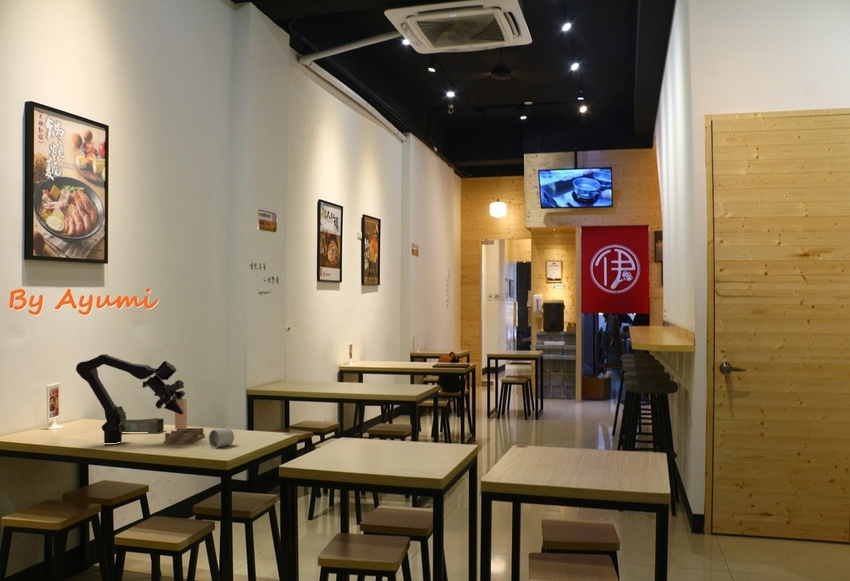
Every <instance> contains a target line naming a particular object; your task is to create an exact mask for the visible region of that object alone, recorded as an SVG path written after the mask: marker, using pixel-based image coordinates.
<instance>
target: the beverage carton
mask: <svg viewBox="0 0 850 581" xmlns="http://www.w3.org/2000/svg"><path fill="white" fill-rule="evenodd" d="M164 422H165V420H164V418H158V417H156V418H146V419H145V418H143V419H142V418H141V419H126V421H125V422H124V423H123V424H122V427H121V428H120V432H148V433H154V434H159V433H161V432H160V431H162V430H165V429H164V426H165V424H164ZM158 432H159V433H158ZM162 432H163V431H162Z"/></svg>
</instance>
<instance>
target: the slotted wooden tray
mask: <svg viewBox="0 0 850 581" xmlns="http://www.w3.org/2000/svg"><path fill="white" fill-rule="evenodd" d="M205 435H206V434H205V433H204V427H187V428H185V429H176V430H171V431H170V432H166V433H164V440H163V445H186V444H187V445H188V444H189V445H190V444H193V443H195V442H197V441H199V440H200V439H203V438H205V437H206V436H205Z"/></svg>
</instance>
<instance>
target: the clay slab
mask: <svg viewBox="0 0 850 581" xmlns="http://www.w3.org/2000/svg"><path fill="white" fill-rule="evenodd" d="M187 401H188V400H187V398H182V399H177V400H176V403H177V405H178V406H179V407H180V409H181V410H182V411H183V414H179V413H176V412H174V429H175V430H177V429H185V428H188V415H187V414H188V407H187V406H188V402H187Z"/></svg>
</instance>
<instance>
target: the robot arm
mask: <svg viewBox="0 0 850 581" xmlns="http://www.w3.org/2000/svg"><path fill="white" fill-rule="evenodd" d="M103 365H105V366H108V367H111V368H114V369H117V370H120V371H124V372H126V373H128V374H130V375H131V376H133V377H134V378H136V379H139V380H144V381H142V388H144V389H145V388H149V389H150V390H151V391H152V392H153V393H154V396H155V397H158V398H159V399H158V400H157V401H156V402H155V407H156V409H158V410H160V409H162V408H163V409H166V410H169V411H172V412H173V413H175V412H176V413H179V414H183V411H182V410H181V409H180V407H179V406H178V405H177V403H176V400H177V399H183V397H184V396H186V394H187V393H186V392H185V391H184V390H181V389H184V388H185V385H184V384H185V382H183V381H182V380H181V379H177V380H175V381H174V383H172V384H169V383H168V384H166V382H164V381H168V380H169V379H170V378H172V376H173V375H174V374H175V373H176V372H177V371H178V370H177V368H176V367H175V365H173V364H171V363H169V362H168V361H167V360H164V361H163V362H162V363H161V364H160V365H159V366H158V367H157V368H153V367H152V366H150V365H148V364H140V363H133V362H129V361H126V360H122V359H120V358H117V357H114V356H112V355H109V354H107V353H104V354H100V355H98V356H95V357H94V358H92V359H91V358H90V359H89V360H85V361H81V362H78V363H77V365H76V366H75V371H76V373H77V374H78V375H79V376H80V378H82V379H83V380H84V381H85V382H87V383H88V385H89V387H90V388H91V390H92V392H93V394H94V395H95V397H96V398H97V400H98V402H99V403H100V405H101V407H102V409H103V412H104V417H105V420H106V422H104V423H103V425H101V430H102V431H103V444H104V443H117V442H120V443H122V442H123V434H122V432H120V428H121V427H122V424H123V423H124V422H125V421H126V420H127V415H126V414H127V412H126V411H124V409H123V406H122V405H120V406H118V405H116V404H115V403H114V401H113V399H112V398H111V396H110V394H109V392H108V391H107V389H106V387H105V386H104V384H103V382H101V380H100V378H99V372H98V368H100V367H101V366H103ZM145 379H146V380H145ZM163 405H164V407H163Z"/></svg>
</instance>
